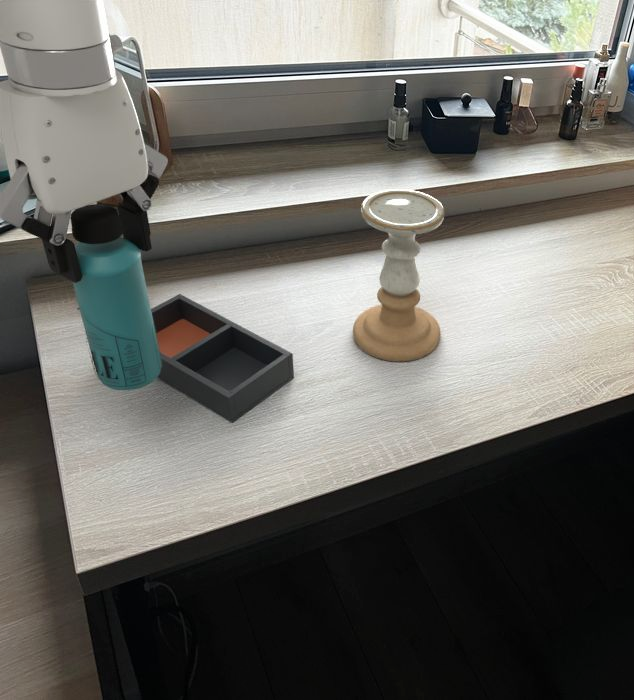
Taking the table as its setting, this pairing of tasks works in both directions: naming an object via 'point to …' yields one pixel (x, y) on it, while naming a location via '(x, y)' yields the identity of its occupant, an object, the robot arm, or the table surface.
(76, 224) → the beverage bottle
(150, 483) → the table surface
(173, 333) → the two compartment tray
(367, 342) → the candle holder
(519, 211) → the table surface
